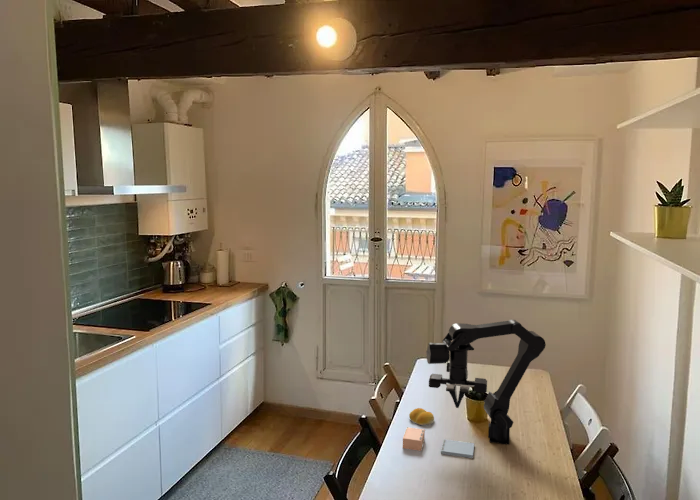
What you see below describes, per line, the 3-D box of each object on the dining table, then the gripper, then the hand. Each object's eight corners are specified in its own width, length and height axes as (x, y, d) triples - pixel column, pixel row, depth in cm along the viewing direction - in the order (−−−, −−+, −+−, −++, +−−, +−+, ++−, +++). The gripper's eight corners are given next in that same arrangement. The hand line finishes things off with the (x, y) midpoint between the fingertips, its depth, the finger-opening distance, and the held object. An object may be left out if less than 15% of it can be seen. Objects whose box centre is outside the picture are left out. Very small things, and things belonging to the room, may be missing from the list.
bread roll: (424, 428, 192) (424, 418, 191) (405, 419, 199) (405, 409, 198) (439, 421, 197) (439, 411, 197) (420, 413, 204) (421, 403, 203)
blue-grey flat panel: (474, 446, 179) (474, 442, 179) (472, 458, 172) (472, 454, 172) (443, 441, 182) (443, 438, 182) (440, 453, 174) (441, 450, 174)
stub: (424, 439, 184) (424, 429, 183) (420, 450, 176) (421, 440, 176) (406, 436, 185) (407, 426, 185) (402, 448, 178) (402, 437, 177)
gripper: (488, 357, 184) (486, 400, 186) (433, 352, 189) (432, 394, 191) (487, 368, 173) (485, 414, 176) (428, 363, 178) (428, 408, 181)
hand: (457, 407), depth 181 cm, fingers closed
